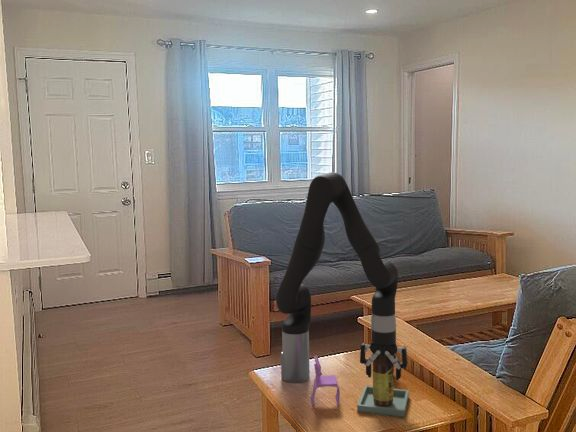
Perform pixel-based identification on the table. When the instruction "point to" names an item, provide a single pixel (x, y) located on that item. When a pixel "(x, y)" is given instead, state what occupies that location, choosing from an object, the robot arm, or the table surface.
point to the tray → (394, 409)
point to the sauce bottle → (382, 379)
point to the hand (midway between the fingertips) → (383, 377)
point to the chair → (323, 381)
